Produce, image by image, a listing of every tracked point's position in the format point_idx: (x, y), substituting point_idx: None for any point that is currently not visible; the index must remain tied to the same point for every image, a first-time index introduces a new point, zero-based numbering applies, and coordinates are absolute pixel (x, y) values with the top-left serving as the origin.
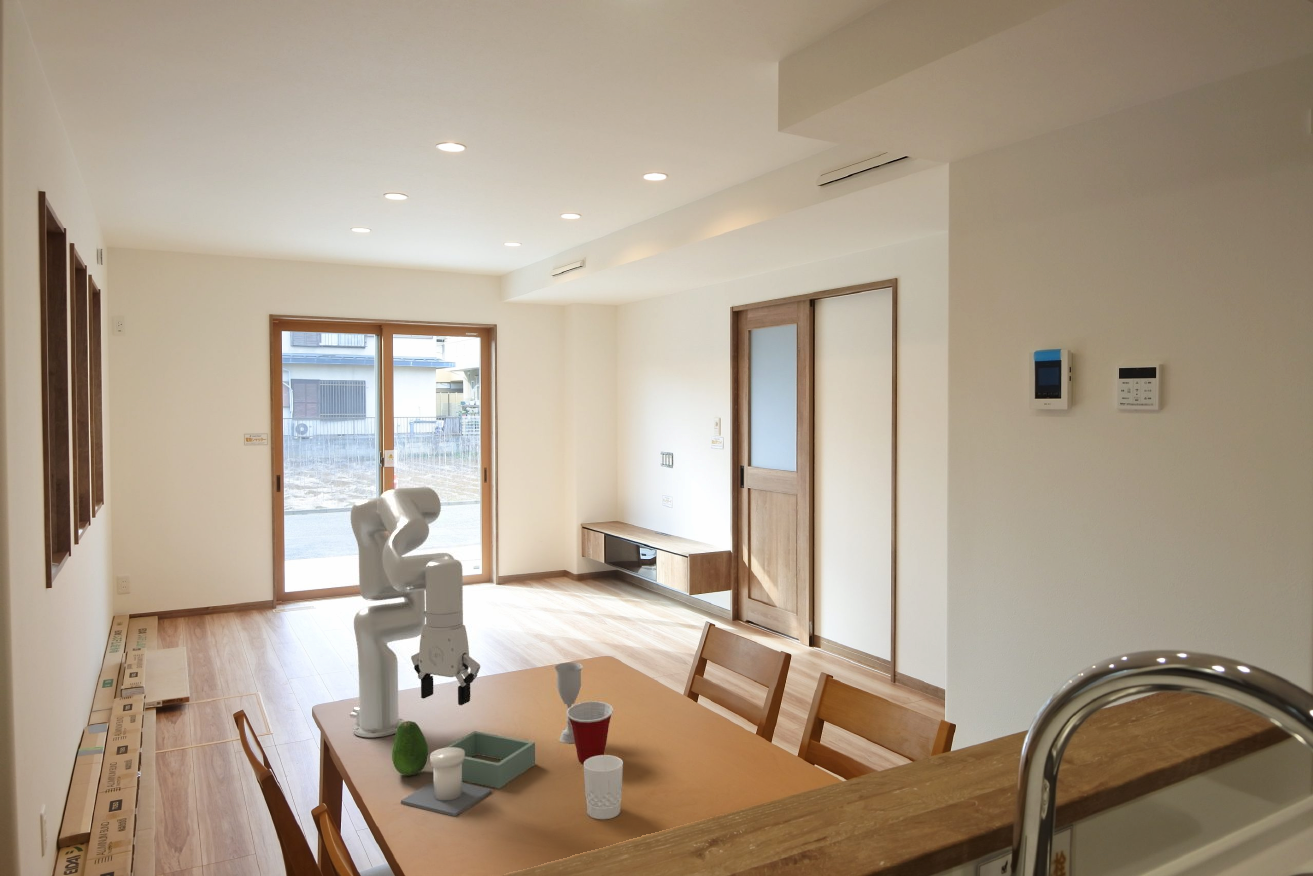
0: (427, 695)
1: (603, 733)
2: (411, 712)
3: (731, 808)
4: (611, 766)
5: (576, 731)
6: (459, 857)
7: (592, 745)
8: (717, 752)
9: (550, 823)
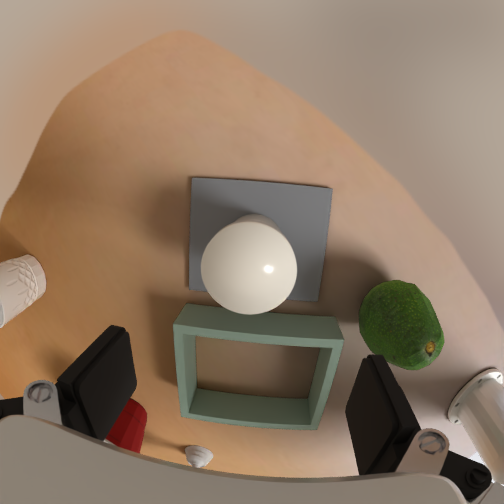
0: (358, 381)
1: None
2: None
3: None
4: (3, 318)
5: (114, 428)
6: (117, 77)
7: None
8: None
9: (58, 221)
